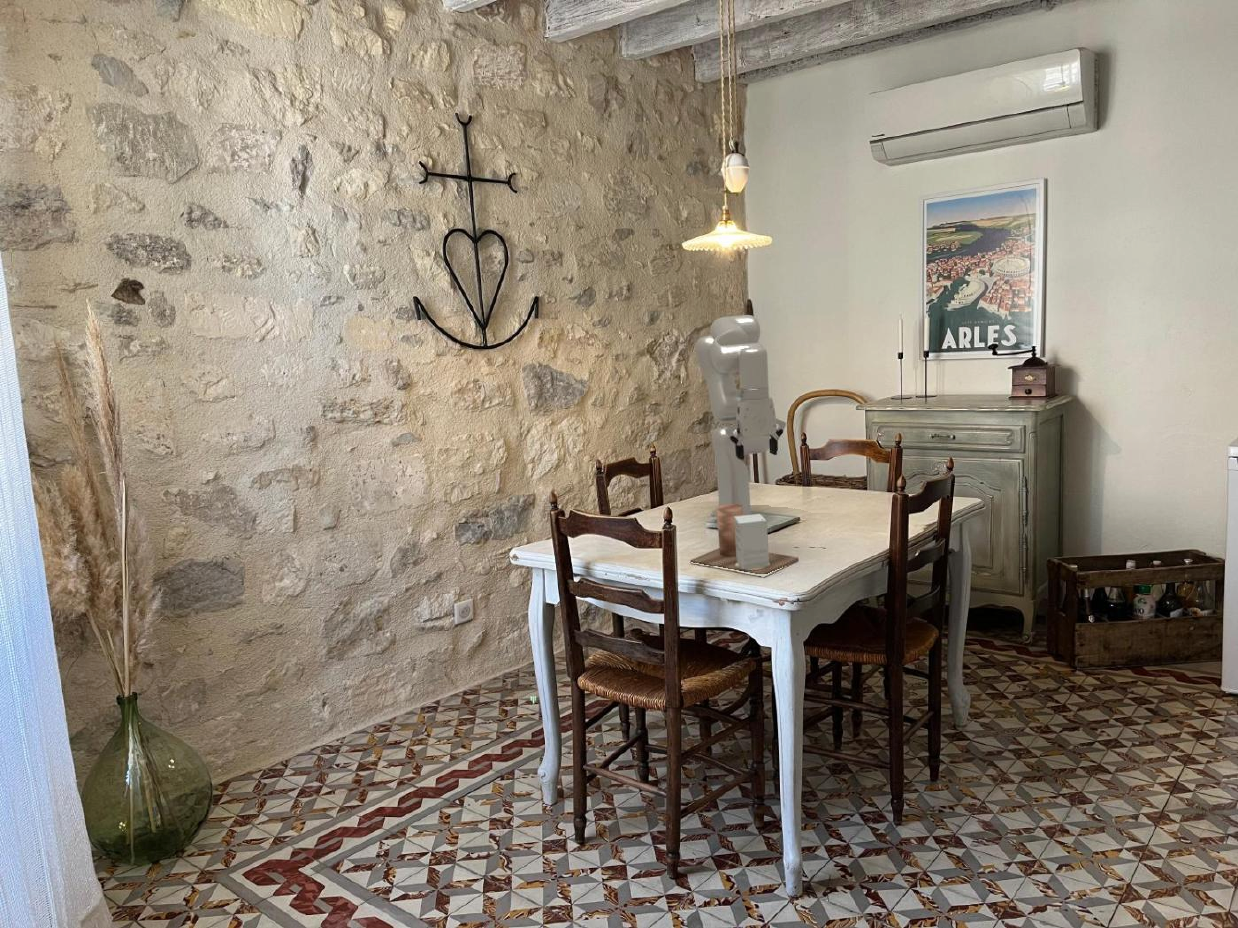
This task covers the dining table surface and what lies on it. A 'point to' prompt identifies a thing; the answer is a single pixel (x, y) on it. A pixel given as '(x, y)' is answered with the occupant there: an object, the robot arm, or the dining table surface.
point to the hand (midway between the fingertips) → (757, 456)
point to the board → (732, 561)
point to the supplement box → (751, 541)
